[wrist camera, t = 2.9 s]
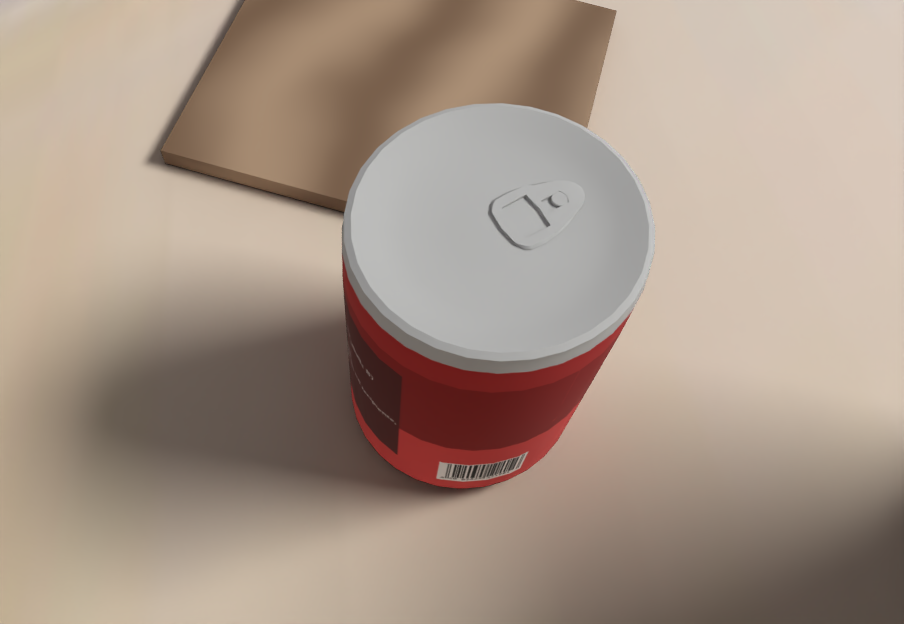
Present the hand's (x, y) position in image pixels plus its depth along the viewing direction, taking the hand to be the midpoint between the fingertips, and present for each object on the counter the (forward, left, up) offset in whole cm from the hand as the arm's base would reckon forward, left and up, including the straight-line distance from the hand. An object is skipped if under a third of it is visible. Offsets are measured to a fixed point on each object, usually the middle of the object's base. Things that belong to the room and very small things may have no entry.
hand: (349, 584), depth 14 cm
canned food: (-1, -10, -14) cm, 17 cm away
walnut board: (+5, -23, -13) cm, 27 cm away
